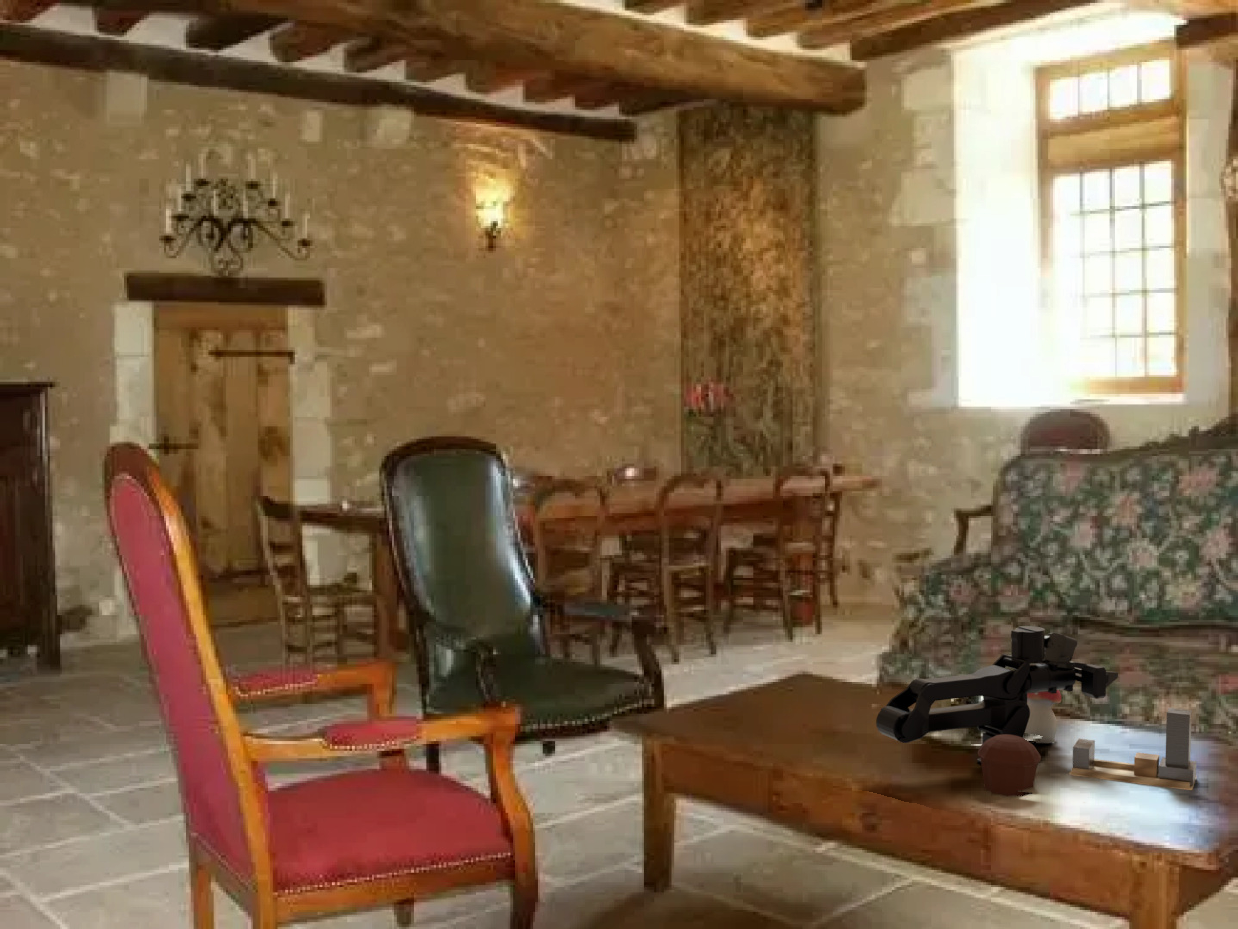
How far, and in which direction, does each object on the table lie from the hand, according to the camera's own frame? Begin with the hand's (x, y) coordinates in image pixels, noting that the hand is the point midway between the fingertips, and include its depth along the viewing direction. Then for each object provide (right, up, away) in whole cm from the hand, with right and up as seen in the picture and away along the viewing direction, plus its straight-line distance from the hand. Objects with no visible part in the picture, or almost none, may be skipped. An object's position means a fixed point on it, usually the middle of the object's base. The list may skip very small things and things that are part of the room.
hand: (1101, 670), depth 287 cm
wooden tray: (-1, -18, -20) cm, 27 cm away
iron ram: (+6, -17, -24) cm, 30 cm away
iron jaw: (-9, -17, -16) cm, 25 cm away
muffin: (-26, -19, -25) cm, 41 cm away
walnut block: (+1, -17, -21) cm, 27 cm away
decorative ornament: (-11, -16, +7) cm, 21 cm away
